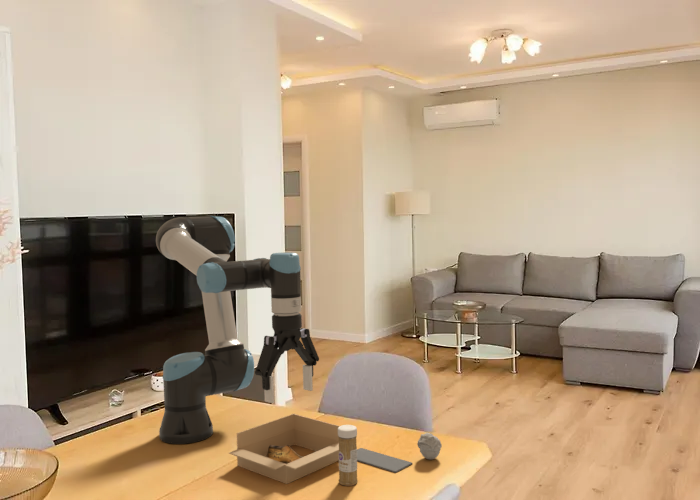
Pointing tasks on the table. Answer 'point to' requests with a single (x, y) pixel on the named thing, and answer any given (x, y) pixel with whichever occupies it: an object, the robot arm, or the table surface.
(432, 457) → the grey rough lump
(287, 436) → the carton
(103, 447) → the table surface
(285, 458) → the shoe last
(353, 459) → the sprinkles bottle
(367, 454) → the mat
